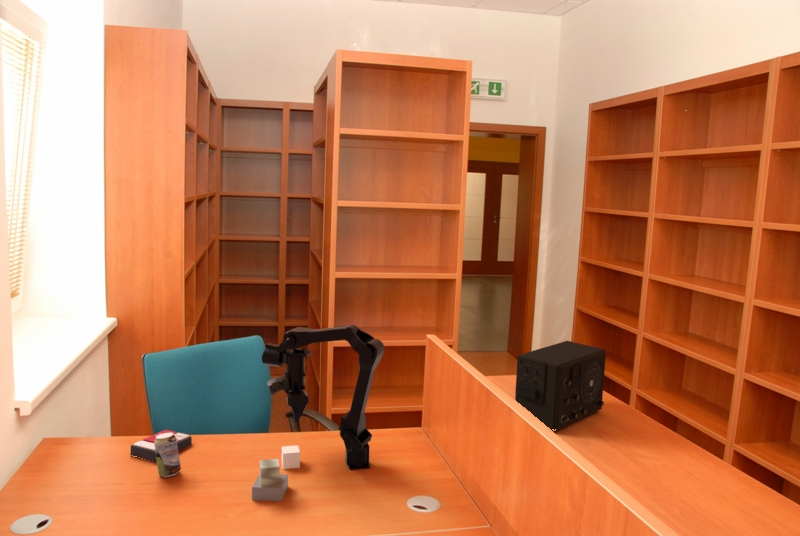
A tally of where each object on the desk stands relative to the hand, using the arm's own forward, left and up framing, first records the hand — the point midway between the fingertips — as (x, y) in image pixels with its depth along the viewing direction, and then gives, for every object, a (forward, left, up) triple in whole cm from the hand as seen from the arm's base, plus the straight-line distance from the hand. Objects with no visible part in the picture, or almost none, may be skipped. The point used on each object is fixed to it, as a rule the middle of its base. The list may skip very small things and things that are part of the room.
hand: (294, 416), depth 192 cm
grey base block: (+9, +24, -12) cm, 29 cm away
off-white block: (+2, +8, -12) cm, 15 cm away
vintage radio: (-101, -11, -12) cm, 102 cm away
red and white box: (+40, -11, -13) cm, 44 cm away
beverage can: (+37, +7, -12) cm, 40 cm away
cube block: (+9, +24, -8) cm, 27 cm away
